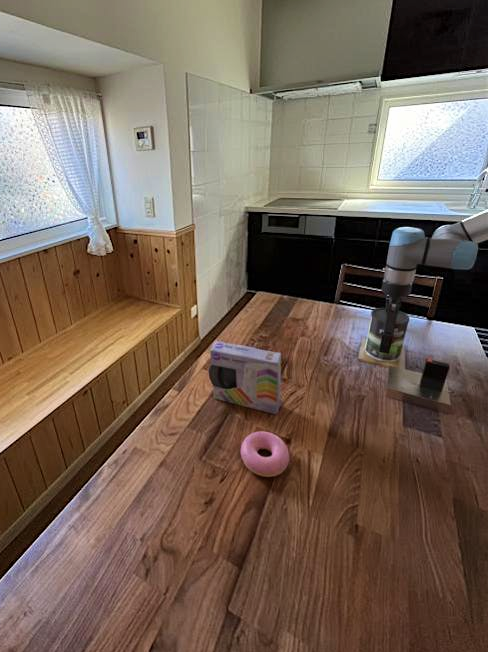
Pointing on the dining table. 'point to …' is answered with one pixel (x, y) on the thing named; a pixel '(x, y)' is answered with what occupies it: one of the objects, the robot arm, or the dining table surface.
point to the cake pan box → (246, 376)
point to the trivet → (368, 359)
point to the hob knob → (434, 374)
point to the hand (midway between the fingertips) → (385, 341)
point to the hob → (415, 390)
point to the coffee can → (375, 337)
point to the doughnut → (265, 464)
